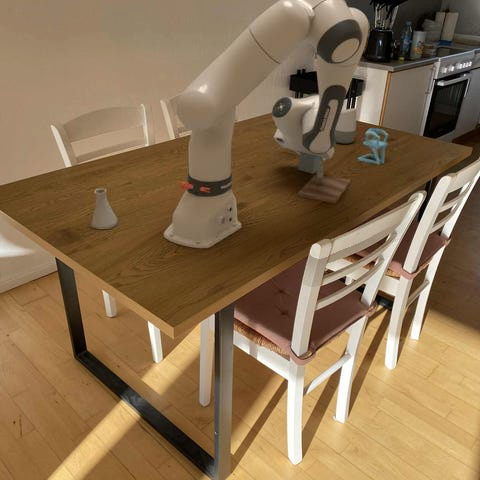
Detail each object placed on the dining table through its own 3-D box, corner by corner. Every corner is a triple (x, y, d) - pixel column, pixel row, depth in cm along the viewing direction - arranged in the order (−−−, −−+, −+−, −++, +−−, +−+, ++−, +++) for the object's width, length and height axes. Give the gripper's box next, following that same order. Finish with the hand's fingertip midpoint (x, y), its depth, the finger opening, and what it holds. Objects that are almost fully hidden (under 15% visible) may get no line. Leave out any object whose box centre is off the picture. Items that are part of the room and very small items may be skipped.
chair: (375, 166, 177) (381, 134, 171) (357, 160, 183) (362, 128, 177) (387, 161, 182) (393, 130, 176) (369, 155, 187) (374, 125, 181)
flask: (111, 231, 130) (107, 197, 125) (86, 228, 131) (81, 194, 126) (122, 219, 136) (118, 186, 131) (98, 217, 137) (93, 184, 132)
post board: (335, 203, 148) (338, 178, 144) (297, 196, 152) (299, 171, 148) (349, 183, 162) (353, 160, 158) (315, 177, 167) (317, 154, 163)
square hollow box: (312, 173, 169) (315, 151, 165) (298, 169, 172) (300, 148, 169) (321, 169, 173) (323, 147, 169) (307, 165, 177) (309, 143, 173)
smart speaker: (337, 137, 207) (341, 103, 200) (357, 141, 202) (362, 107, 196) (327, 142, 200) (331, 108, 194) (348, 146, 196) (352, 112, 189)
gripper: (330, 132, 153) (342, 154, 165) (277, 120, 164) (291, 142, 176) (322, 149, 152) (334, 170, 164) (269, 136, 163) (284, 156, 175)
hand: (311, 155), depth 170 cm, fingers open, 8 cm apart
